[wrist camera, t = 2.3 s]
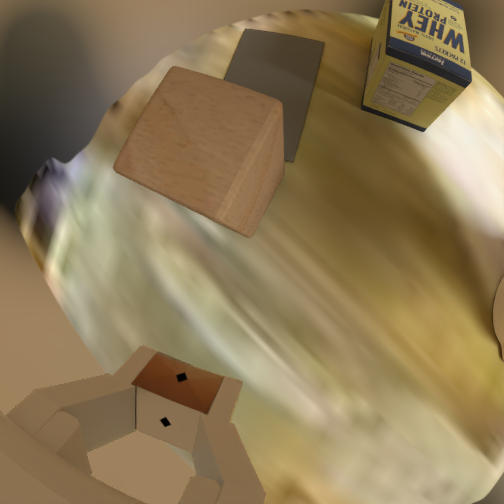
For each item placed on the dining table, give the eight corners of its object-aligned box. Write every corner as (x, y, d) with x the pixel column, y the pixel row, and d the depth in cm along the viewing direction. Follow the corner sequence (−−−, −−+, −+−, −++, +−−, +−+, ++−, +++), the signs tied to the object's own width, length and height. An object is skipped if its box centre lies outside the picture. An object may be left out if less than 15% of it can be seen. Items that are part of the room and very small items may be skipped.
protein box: (427, 60, 39) (462, 4, 24) (424, 134, 39) (473, 84, 24) (370, 38, 41) (392, -25, 25) (359, 110, 40) (388, 47, 25)
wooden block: (251, 239, 41) (220, 223, 21) (185, 206, 42) (108, 168, 22) (285, 171, 41) (285, 99, 21) (219, 142, 42) (171, 62, 22)
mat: (324, 43, 41) (324, 42, 41) (293, 162, 41) (293, 161, 41) (245, 29, 42) (245, 28, 42) (201, 141, 42) (201, 141, 42)
